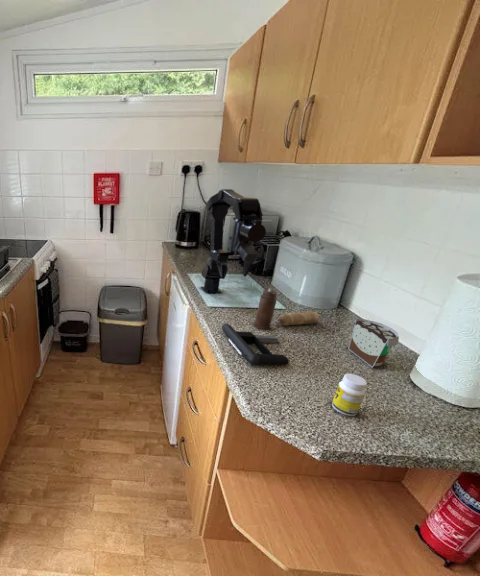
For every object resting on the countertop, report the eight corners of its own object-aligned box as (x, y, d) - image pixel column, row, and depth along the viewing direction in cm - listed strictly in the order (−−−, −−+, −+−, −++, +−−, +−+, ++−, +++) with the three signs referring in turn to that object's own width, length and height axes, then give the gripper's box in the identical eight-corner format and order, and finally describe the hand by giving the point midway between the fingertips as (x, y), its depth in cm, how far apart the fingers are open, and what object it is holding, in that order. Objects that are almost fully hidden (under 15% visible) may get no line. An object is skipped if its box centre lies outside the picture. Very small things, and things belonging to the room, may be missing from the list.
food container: (399, 371, 85) (414, 340, 82) (376, 371, 85) (390, 339, 82) (364, 346, 97) (376, 318, 93) (344, 346, 97) (355, 317, 93)
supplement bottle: (334, 398, 75) (345, 369, 72) (358, 409, 72) (371, 379, 69) (329, 408, 72) (340, 378, 69) (354, 420, 69) (367, 389, 66)
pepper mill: (251, 324, 109) (259, 286, 104) (260, 321, 111) (269, 284, 106) (263, 331, 105) (272, 292, 100) (272, 328, 107) (282, 289, 102)
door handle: (265, 324, 104) (218, 322, 103) (305, 360, 86) (249, 357, 85) (263, 333, 105) (216, 331, 104) (301, 370, 87) (246, 368, 86)
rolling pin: (282, 328, 107) (285, 317, 106) (274, 322, 111) (277, 312, 109) (320, 324, 110) (323, 314, 108) (311, 319, 113) (314, 309, 112)
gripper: (229, 241, 101) (222, 286, 107) (280, 239, 104) (270, 283, 110) (212, 233, 111) (205, 275, 117) (259, 232, 114) (250, 273, 120)
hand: (233, 276), depth 116 cm, fingers open, 9 cm apart
